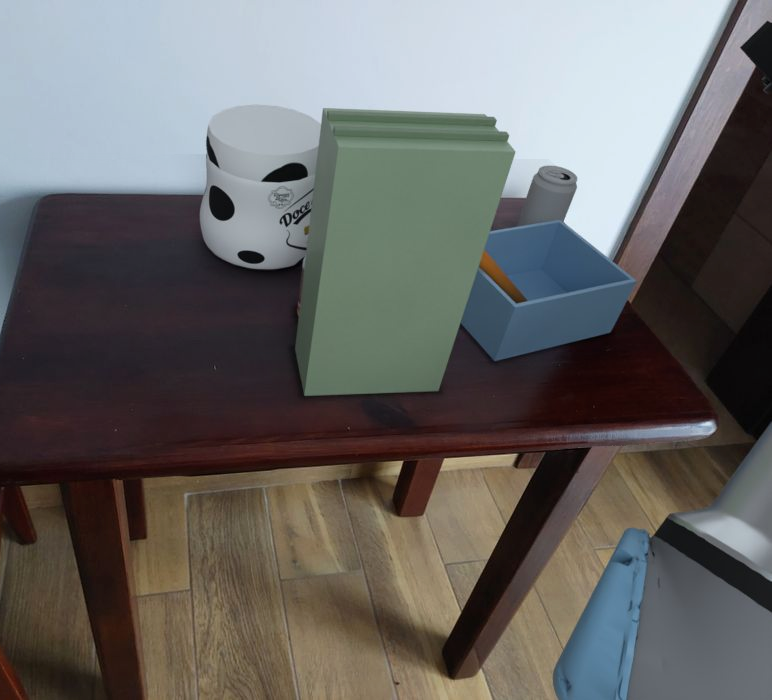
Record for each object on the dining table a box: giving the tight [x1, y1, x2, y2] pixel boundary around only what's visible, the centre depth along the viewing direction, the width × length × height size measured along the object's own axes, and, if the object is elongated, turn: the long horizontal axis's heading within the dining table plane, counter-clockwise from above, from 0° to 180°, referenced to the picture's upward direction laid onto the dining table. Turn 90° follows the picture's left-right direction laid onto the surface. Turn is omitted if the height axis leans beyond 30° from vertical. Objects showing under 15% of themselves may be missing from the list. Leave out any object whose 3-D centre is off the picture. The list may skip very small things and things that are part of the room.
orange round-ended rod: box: [479, 250, 528, 304], centre depth 85 cm, size 20×2×2 cm
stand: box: [294, 107, 516, 397], centre depth 71 cm, size 16×8×31 cm, turn 98°
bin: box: [460, 220, 638, 362], centre depth 90 cm, size 15×19×9 cm
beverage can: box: [515, 165, 578, 227], centre depth 103 cm, size 6×6×12 cm
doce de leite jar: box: [199, 104, 321, 272], centre depth 92 cm, size 17×17×18 cm
